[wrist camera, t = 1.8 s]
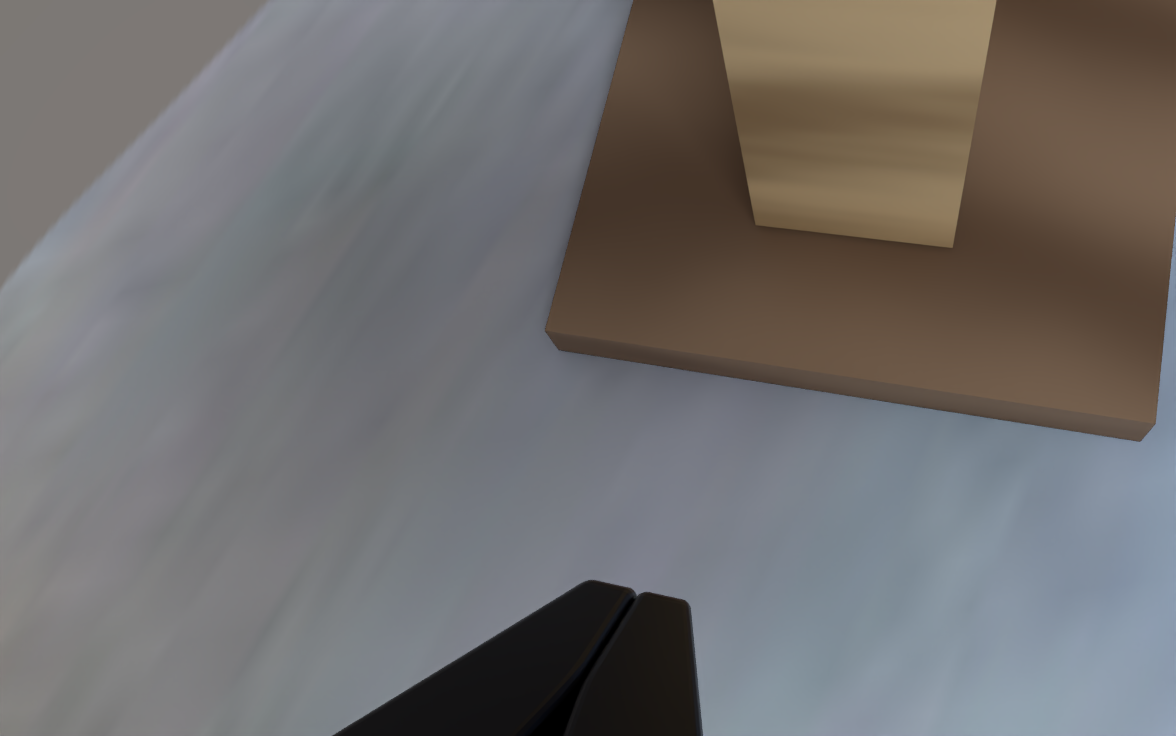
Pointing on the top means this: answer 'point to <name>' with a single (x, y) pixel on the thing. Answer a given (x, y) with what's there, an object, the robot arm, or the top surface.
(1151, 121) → the walnut sill
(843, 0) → the pale yellow box
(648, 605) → the robot arm
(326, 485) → the top surface
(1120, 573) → the top surface
